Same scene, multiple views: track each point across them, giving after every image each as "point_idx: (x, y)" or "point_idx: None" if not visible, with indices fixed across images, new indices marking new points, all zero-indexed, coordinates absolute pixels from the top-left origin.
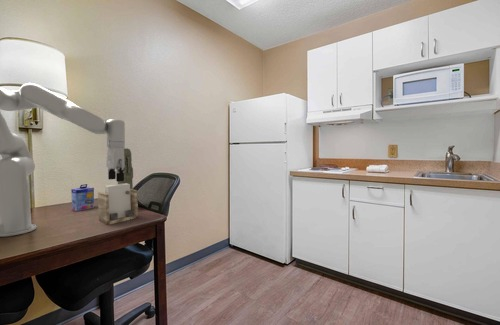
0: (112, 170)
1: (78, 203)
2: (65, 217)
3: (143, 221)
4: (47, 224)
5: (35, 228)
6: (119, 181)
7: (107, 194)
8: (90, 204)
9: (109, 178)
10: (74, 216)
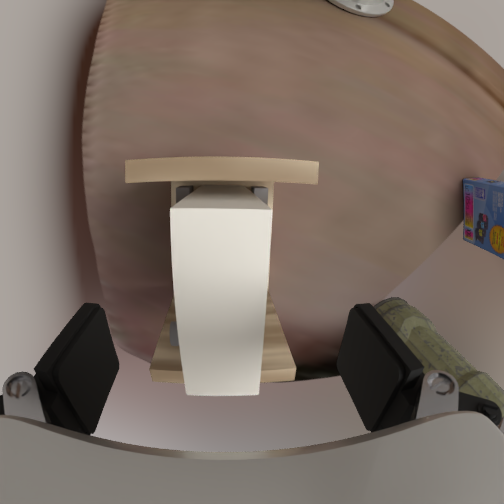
0: (395, 421)
1: (482, 189)
2: (421, 115)
3: (114, 285)
4: (372, 44)
5: (335, 4)
6: (456, 372)
7: (132, 177)
8: (473, 230)
9: (355, 314)
10: (413, 138)
